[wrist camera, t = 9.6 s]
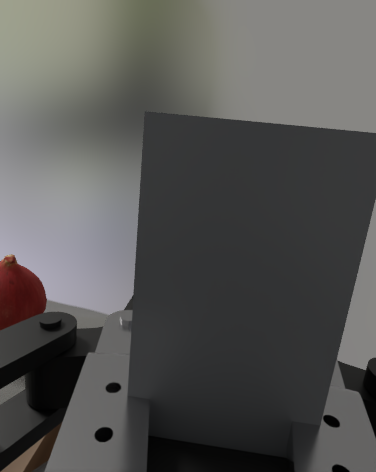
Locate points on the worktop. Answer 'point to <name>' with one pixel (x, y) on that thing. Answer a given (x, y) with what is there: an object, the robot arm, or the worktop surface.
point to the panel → (244, 274)
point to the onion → (19, 293)
